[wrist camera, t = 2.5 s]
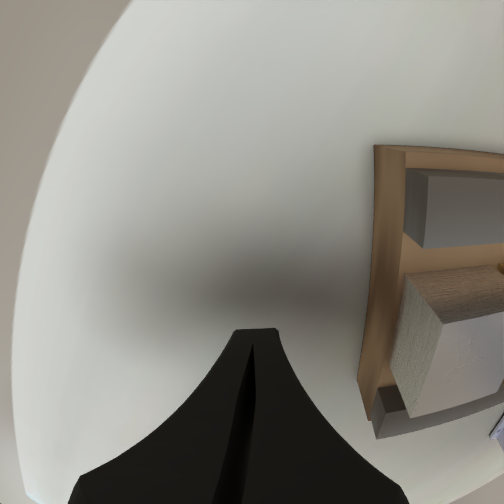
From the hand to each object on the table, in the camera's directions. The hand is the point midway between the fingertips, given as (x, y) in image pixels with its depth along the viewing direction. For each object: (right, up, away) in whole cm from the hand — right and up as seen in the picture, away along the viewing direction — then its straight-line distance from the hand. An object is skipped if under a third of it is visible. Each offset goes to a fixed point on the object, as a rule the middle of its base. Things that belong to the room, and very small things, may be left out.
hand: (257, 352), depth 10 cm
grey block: (+7, +1, 0) cm, 7 cm away
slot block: (+10, +2, +3) cm, 10 cm away
